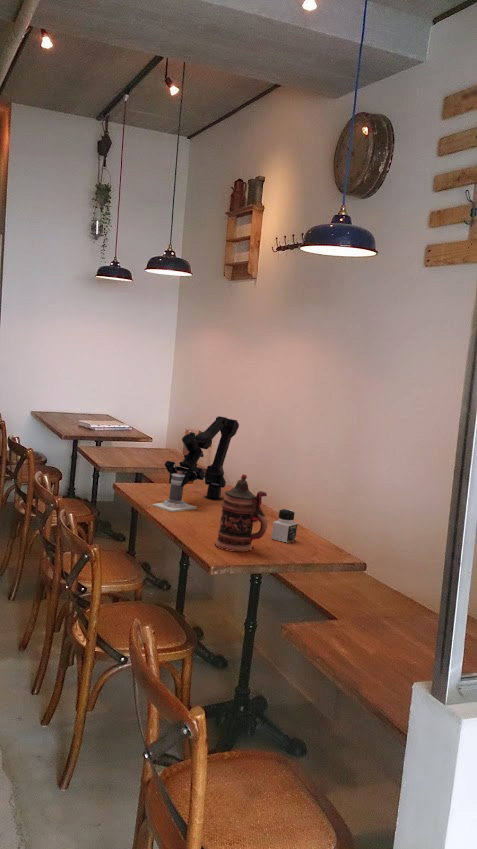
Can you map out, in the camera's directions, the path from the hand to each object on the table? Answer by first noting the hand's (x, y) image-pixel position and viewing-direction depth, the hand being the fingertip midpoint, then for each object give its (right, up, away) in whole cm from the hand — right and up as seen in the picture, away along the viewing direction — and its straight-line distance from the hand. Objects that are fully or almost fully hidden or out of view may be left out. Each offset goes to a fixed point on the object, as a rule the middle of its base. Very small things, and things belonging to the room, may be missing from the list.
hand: (175, 484), depth 323 cm
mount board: (-1, -10, +2) cm, 10 cm away
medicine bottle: (+45, -19, -31) cm, 58 cm away
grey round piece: (0, -6, +2) cm, 7 cm away
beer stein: (+27, -19, -50) cm, 60 cm away
